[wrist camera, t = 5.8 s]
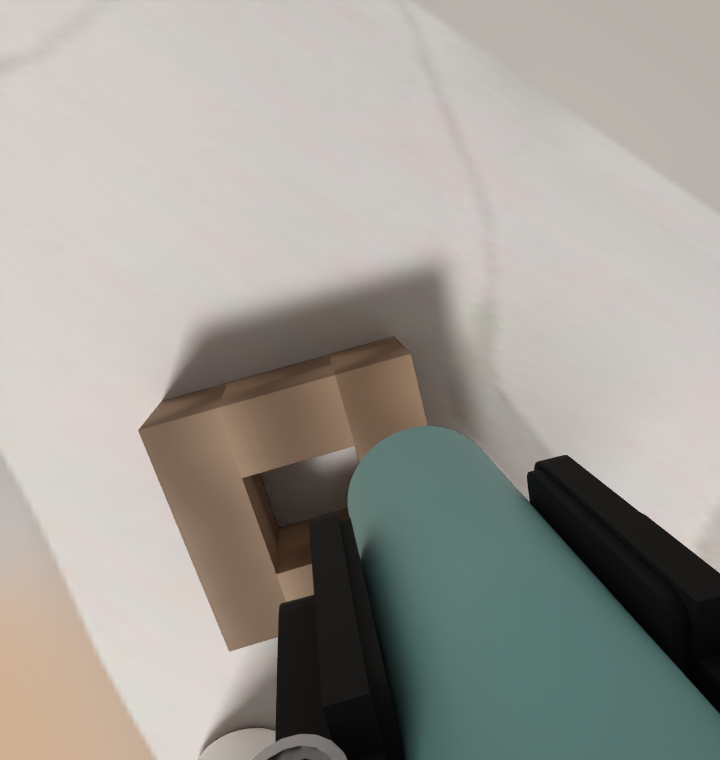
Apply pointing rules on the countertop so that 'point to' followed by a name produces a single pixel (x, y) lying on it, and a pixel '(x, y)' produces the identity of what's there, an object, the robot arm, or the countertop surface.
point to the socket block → (263, 453)
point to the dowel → (504, 622)
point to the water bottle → (239, 745)
